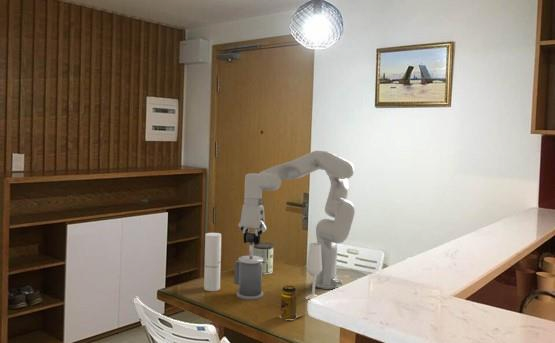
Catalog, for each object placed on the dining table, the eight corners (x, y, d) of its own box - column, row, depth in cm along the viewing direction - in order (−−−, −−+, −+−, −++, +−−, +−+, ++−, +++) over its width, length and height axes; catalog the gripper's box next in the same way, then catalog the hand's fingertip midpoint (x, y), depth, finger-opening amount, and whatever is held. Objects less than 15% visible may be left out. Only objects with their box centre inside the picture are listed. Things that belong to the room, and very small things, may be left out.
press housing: (268, 294, 218) (269, 258, 217) (253, 301, 208) (254, 263, 207) (243, 288, 225) (244, 253, 224) (227, 295, 216) (228, 258, 214)
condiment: (275, 317, 192) (277, 287, 191) (289, 311, 198) (290, 282, 197) (290, 322, 187) (291, 291, 186) (304, 316, 194) (305, 286, 193)
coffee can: (254, 268, 259) (255, 242, 258) (273, 269, 258) (274, 243, 257) (251, 273, 249) (252, 246, 248) (271, 275, 248) (272, 247, 247)
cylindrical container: (222, 287, 226) (224, 233, 224) (214, 292, 219) (215, 236, 217) (209, 285, 229) (210, 232, 227) (201, 289, 222) (202, 234, 220)
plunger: (259, 258, 216) (259, 233, 215) (252, 260, 212) (253, 234, 211) (249, 256, 219) (250, 231, 218) (243, 258, 214) (243, 233, 213)
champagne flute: (302, 296, 217) (305, 242, 215) (316, 294, 220) (318, 242, 218) (309, 301, 211) (312, 246, 209) (323, 299, 214) (326, 245, 212)
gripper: (274, 203, 212) (272, 244, 213) (242, 199, 221) (240, 239, 222) (264, 205, 205) (263, 248, 207) (232, 200, 214) (230, 242, 216)
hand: (251, 243), depth 215 cm, fingers closed on plunger, 4 cm apart
